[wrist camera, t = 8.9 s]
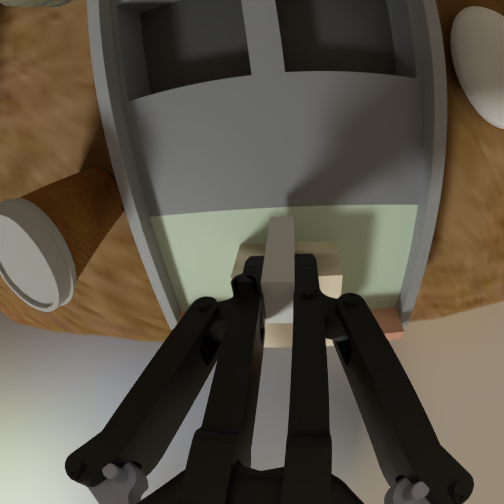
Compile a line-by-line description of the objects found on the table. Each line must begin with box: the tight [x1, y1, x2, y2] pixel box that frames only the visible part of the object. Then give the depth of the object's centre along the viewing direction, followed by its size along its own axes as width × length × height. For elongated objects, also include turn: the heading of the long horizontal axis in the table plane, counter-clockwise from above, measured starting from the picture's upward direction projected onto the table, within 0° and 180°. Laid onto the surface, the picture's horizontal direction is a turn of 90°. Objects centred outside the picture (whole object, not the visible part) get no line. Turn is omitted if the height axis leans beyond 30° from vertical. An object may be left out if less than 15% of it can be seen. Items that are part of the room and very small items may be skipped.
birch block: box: [230, 241, 343, 347], centre depth 21 cm, size 7×7×4 cm
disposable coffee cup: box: [0, 168, 123, 312], centre depth 20 cm, size 10×10×12 cm
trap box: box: [87, 0, 447, 340], centre depth 17 cm, size 22×30×7 cm
